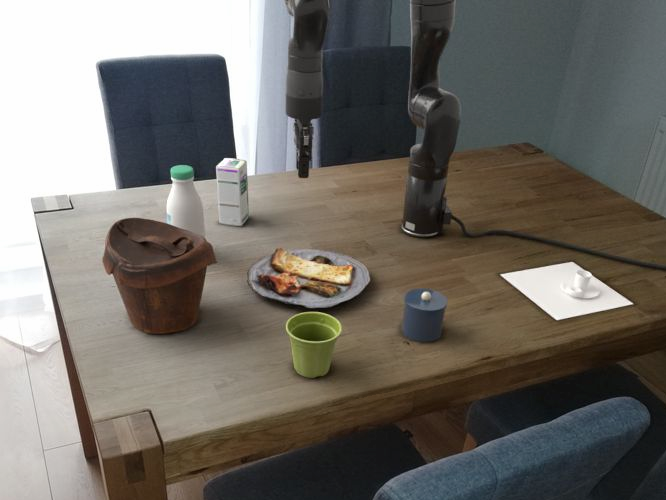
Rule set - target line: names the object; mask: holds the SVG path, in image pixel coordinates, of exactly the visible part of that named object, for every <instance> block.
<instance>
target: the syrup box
mask: <svg viewBox="0 0 666 500" xmlns="http://www.w3.org/2000/svg"><path fill="white" fill-rule="evenodd" d="M215 173H216V174H215V175H216V176H215V177H216V187H217V188H216V191H217V205H218V222H219V224H222V225H227V226H235V227H243V225H244V224H245V223H246V221H247V220H248V219H249V216H250V210H249V208H250V207H249V186H248V185H249V183H248V162H247V160H246V159H241V158H232V157H231V158H230V157H224V158H223V160H221V161H220V162H218V164H217V165H216V166H215Z"/></svg>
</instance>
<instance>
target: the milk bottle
mask: <svg viewBox="0 0 666 500" xmlns="http://www.w3.org/2000/svg"><path fill="white" fill-rule="evenodd" d="M170 180H171V181H172V185H171V189H170V192H169V194H168V196H167V201H166V223H167V224H170V225H173V226H176V227H178V228H181V229H184V230H188V231H190V232H193V233H196V234H199V235H201V236H203V237H204V238H205V239H206V230H205V228H206V227H205V214H204V206H203V201H202V199H201V196H200V194H199V193H198V191H197V189H196V187H195V183H194V180H195V171H194V168H193V167H192V166H190V165H186V164H179V165H174V166H172V167H171V168H170Z"/></svg>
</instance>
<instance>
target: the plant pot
mask: <svg viewBox="0 0 666 500" xmlns="http://www.w3.org/2000/svg"><path fill="white" fill-rule="evenodd" d="M342 329H343V327H342V324H341V322H340V321H339V320H338V319H337V318H336V317H334V316H332V315H330V314H329V313H325V312H319V311H305V312H300V313H297V314H295V315H293V316H291V317H290V318H288V320H287V321H286V323H285V330H286V333H287V335H288V337H289V339H290V345H291V352H292V359H293V361H292V362H293V367H294V370H295V371H296V373H297V374H298V375H300V376H301V377H304V378H310V379H315V378H316V377H324V376H325V375H327V374H328V373H329V371H330V367H331V363H332V358H333V355H334V350H335V346H336V342H337V341H338V338H339V337H340V336H341V334H342Z"/></svg>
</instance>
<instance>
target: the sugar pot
mask: <svg viewBox="0 0 666 500" xmlns="http://www.w3.org/2000/svg"><path fill="white" fill-rule="evenodd" d="M403 302H404V304H403V305H404V306H403V313H402V323H401V332H402V334H403V336H405V337H406V338H408V339H410V340H412V341H415V342H421V343H430V342H434V341H436V340H438V339H439V338H440V337H441V336H442V334H443V333H442V332H443V326H444V319H445V313H446V309H447V307H448V299H447V297H446V296H445V295H444V294H443V293H441V292H440V291H437V290H435V289H429V288H413V289H411V290H409V291H407V292H406V293H405V294H404V296H403Z"/></svg>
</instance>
